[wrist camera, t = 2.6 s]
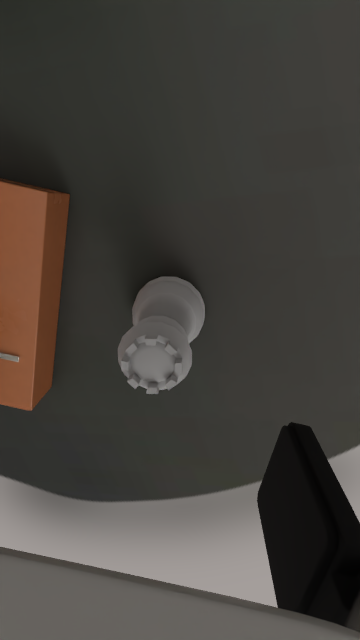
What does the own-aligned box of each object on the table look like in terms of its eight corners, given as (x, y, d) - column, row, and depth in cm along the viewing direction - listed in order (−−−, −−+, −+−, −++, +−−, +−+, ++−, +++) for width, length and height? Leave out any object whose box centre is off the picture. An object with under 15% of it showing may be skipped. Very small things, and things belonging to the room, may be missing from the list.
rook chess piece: (161, 353, 22) (139, 430, 15) (120, 298, 21) (75, 351, 14) (218, 319, 21) (227, 383, 14) (179, 260, 20) (165, 293, 13)
